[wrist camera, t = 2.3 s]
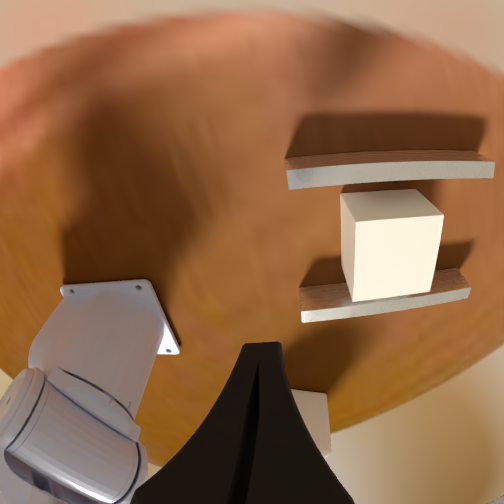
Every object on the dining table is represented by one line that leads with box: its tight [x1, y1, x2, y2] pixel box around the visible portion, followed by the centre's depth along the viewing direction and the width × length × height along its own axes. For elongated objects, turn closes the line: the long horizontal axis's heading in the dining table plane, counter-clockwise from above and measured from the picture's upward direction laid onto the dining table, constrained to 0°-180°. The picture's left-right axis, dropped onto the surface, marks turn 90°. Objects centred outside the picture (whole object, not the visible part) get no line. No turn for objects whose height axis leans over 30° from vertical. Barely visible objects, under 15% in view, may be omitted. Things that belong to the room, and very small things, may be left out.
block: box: [340, 189, 444, 302], centre depth 16 cm, size 5×5×4 cm
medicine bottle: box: [291, 389, 331, 458], centre depth 24 cm, size 7×7×12 cm
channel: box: [285, 150, 495, 323], centre depth 17 cm, size 12×10×2 cm
